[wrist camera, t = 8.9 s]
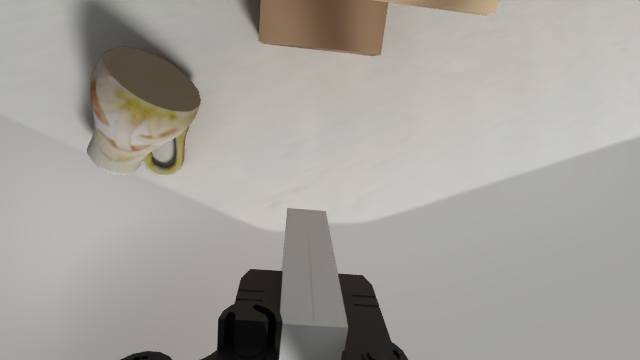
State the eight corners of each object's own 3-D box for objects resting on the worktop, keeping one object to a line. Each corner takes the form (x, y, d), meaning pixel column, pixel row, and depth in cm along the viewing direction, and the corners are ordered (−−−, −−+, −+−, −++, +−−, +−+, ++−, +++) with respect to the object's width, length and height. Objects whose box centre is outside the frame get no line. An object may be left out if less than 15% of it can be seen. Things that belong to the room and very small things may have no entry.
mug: (80, 145, 31) (4, 95, 21) (168, 76, 34) (135, 4, 24) (142, 205, 31) (93, 182, 21) (226, 131, 34) (215, 81, 24)
